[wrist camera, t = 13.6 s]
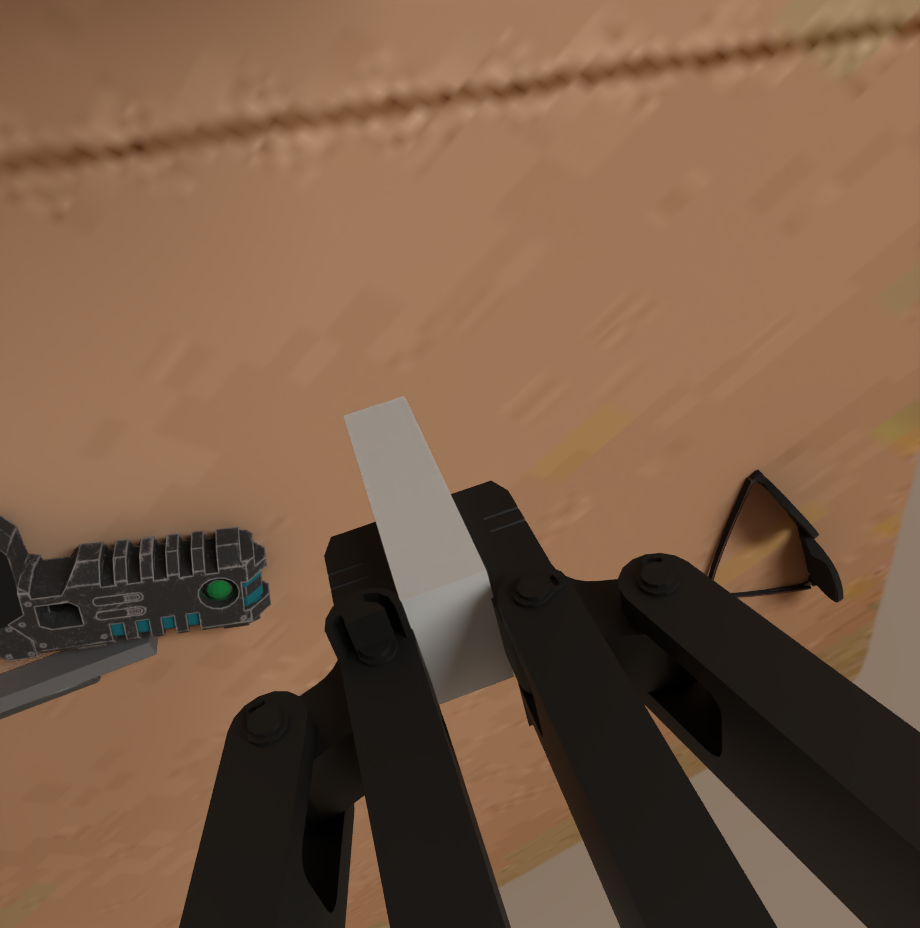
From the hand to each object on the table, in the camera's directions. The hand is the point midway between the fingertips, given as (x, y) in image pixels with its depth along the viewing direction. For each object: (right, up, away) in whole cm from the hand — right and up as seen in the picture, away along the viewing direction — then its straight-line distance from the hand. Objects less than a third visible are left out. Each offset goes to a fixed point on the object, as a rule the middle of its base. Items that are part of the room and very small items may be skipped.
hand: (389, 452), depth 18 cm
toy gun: (-20, -3, +27) cm, 34 cm away
